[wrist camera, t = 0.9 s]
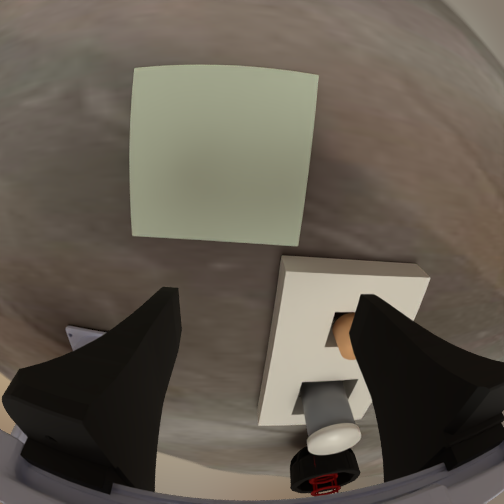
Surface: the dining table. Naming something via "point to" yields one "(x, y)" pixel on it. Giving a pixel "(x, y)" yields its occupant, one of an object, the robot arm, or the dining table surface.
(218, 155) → the mat
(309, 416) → the cylinder
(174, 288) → the robot arm
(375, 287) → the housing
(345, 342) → the plunger
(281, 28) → the dining table surface
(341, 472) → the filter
